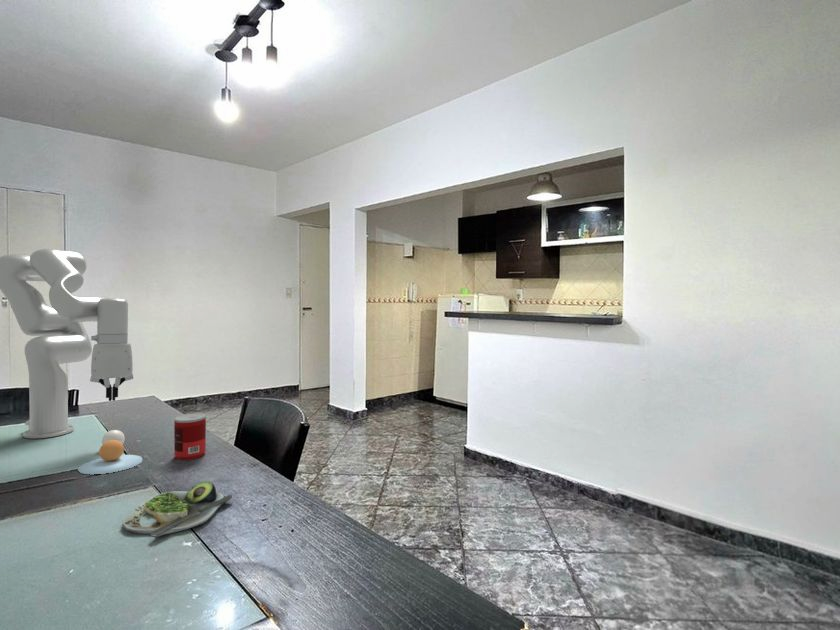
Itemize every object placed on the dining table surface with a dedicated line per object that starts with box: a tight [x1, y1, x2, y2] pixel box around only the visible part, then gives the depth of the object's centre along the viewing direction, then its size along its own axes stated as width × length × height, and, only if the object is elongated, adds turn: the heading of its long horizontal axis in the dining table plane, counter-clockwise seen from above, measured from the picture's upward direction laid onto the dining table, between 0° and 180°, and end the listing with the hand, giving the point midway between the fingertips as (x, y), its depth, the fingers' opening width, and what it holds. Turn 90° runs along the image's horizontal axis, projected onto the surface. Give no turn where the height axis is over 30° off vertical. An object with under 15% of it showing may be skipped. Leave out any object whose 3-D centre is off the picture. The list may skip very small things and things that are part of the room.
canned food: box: [173, 412, 207, 461], centre depth 125 cm, size 8×8×11 cm
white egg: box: [101, 429, 126, 445], centre depth 129 cm, size 6×6×6 cm
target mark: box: [77, 454, 143, 476], centre depth 117 cm, size 14×14×1 cm
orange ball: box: [98, 440, 125, 461], centre depth 120 cm, size 6×6×6 cm
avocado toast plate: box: [121, 481, 233, 538], centre depth 90 cm, size 19×18×5 cm
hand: (112, 399), depth 134 cm, fingers closed
